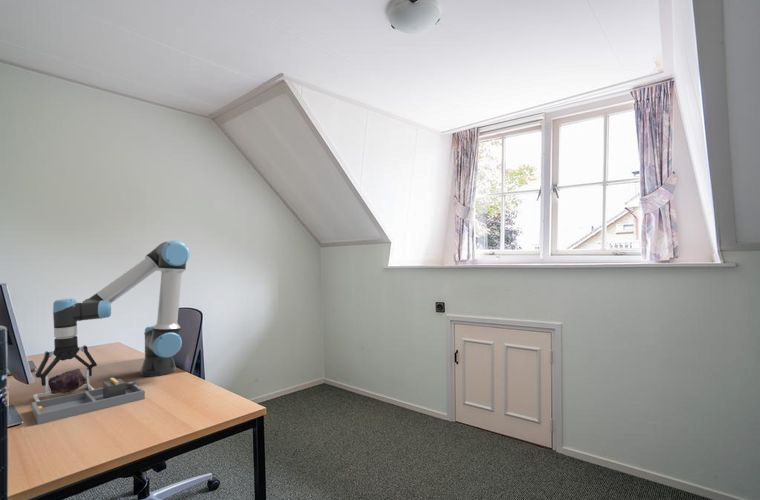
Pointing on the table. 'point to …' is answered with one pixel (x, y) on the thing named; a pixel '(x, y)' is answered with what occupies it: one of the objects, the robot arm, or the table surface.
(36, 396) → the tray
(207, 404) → the table surface
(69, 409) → the holder
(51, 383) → the rock
